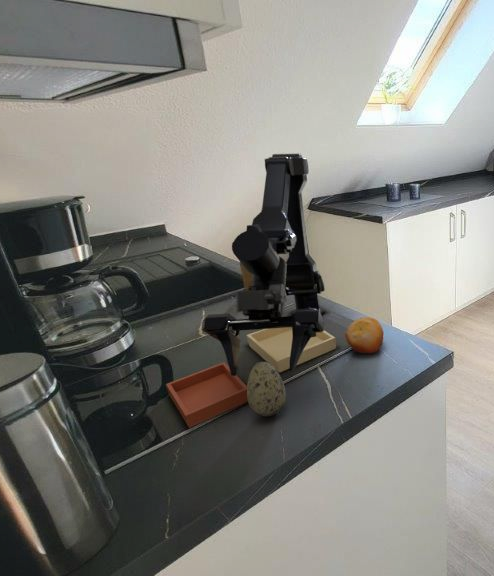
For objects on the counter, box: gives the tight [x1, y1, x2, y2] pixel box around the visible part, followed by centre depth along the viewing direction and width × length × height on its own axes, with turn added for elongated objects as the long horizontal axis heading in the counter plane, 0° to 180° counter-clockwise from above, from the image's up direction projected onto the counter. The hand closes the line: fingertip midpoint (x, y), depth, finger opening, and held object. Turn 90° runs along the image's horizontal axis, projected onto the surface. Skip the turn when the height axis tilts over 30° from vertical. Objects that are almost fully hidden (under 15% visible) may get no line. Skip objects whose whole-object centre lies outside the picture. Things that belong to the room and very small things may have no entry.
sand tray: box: [246, 327, 337, 374], centre depth 89 cm, size 15×13×3 cm
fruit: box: [344, 316, 384, 354], centre depth 88 cm, size 8×8×8 cm
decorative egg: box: [246, 361, 287, 417], centre depth 67 cm, size 6×6×10 cm
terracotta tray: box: [165, 361, 248, 429], centre depth 73 cm, size 12×10×2 cm
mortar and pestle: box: [239, 261, 252, 291], centre depth 111 cm, size 7×6×18 cm
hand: (262, 373), depth 66 cm, fingers open, 9 cm apart
